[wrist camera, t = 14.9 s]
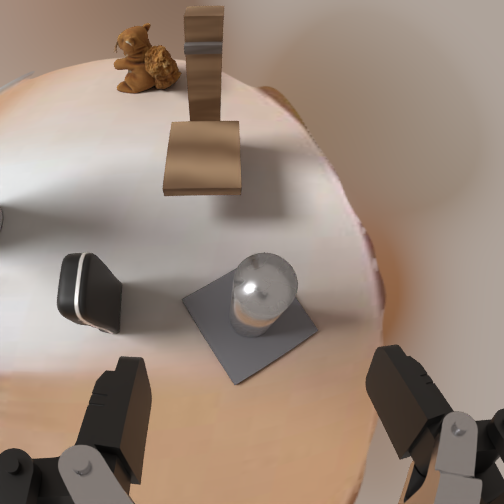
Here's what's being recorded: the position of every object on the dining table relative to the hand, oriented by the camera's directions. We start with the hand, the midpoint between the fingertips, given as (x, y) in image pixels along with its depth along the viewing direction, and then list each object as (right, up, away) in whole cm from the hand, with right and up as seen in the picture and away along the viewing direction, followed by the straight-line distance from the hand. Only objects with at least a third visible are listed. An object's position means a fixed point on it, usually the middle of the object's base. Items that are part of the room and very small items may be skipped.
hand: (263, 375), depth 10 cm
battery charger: (-19, -3, +27) cm, 33 cm away
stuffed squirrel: (-20, +37, +44) cm, 61 cm away
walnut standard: (-7, +15, +35) cm, 39 cm away
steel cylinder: (-1, -4, +27) cm, 27 cm away
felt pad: (-1, -4, +28) cm, 28 cm away
